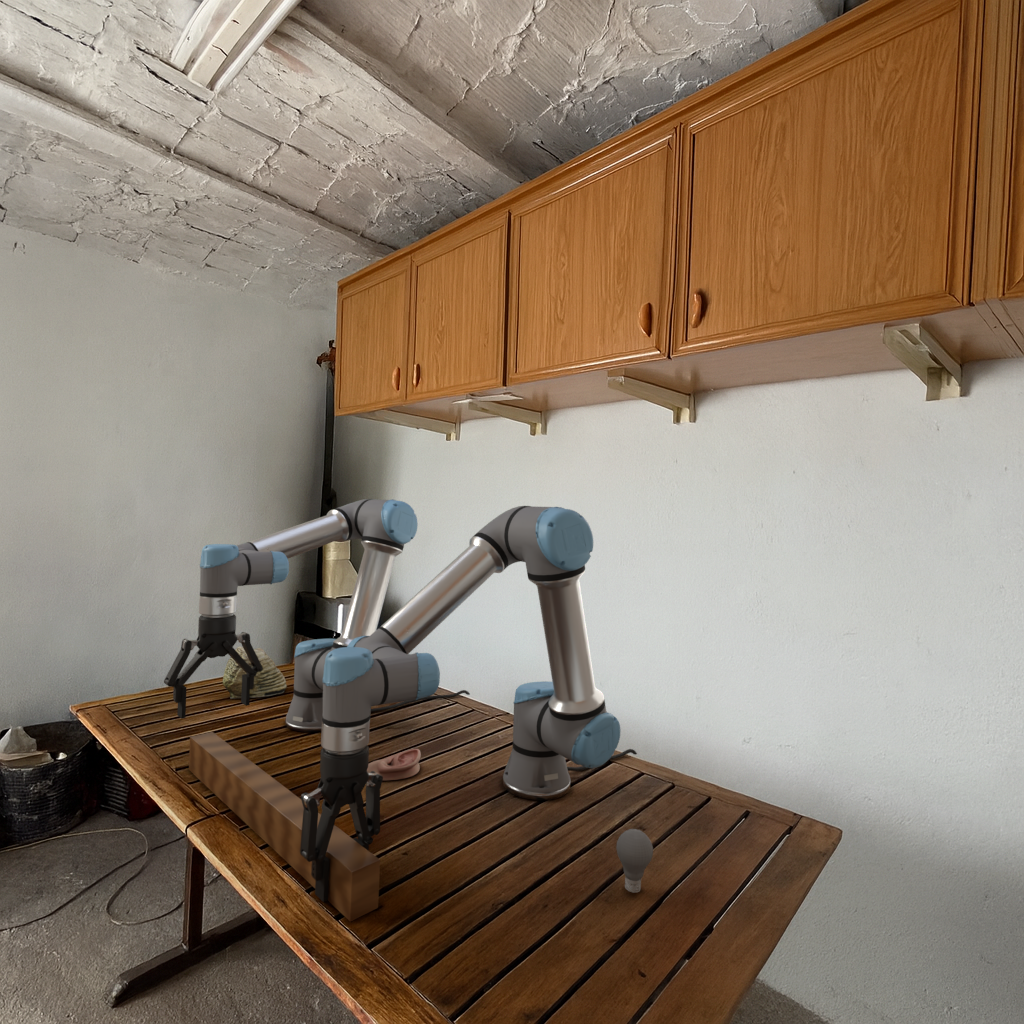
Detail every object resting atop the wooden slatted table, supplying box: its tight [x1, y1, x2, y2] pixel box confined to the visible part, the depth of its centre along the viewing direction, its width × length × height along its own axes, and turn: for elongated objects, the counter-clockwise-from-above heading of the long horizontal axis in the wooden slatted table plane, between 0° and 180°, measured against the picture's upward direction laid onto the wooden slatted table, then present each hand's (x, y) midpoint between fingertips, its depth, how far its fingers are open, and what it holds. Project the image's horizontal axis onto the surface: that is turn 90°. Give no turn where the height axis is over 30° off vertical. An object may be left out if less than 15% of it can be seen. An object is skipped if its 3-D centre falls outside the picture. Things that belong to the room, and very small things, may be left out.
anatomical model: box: [367, 748, 422, 781], centre depth 147 cm, size 13×4×12 cm
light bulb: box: [615, 828, 654, 894], centre depth 106 cm, size 6×6×10 cm
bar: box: [188, 731, 381, 923], centre depth 121 cm, size 69×5×8 cm, turn 45°
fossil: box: [222, 646, 288, 699], centre depth 198 cm, size 9×18×15 cm, turn 132°
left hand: (214, 710), depth 140 cm, fingers open, 13 cm apart
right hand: (339, 888), depth 102 cm, fingers open, 6 cm apart
